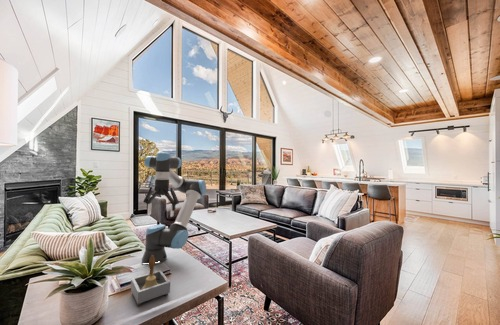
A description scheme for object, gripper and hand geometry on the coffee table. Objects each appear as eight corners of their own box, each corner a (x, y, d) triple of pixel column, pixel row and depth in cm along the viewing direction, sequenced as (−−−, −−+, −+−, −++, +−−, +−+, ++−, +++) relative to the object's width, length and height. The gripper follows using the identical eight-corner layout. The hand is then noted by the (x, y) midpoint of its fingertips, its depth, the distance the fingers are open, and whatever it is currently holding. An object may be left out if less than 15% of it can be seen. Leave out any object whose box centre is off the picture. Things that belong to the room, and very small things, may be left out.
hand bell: (140, 286, 103) (142, 253, 103) (159, 282, 107) (160, 251, 107) (140, 295, 96) (142, 260, 96) (160, 291, 100) (162, 257, 100)
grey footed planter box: (130, 292, 102) (131, 278, 102) (160, 283, 111) (160, 270, 111) (137, 308, 92) (138, 292, 92) (169, 296, 101) (170, 282, 101)
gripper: (137, 178, 119) (136, 215, 119) (180, 180, 117) (178, 218, 117) (145, 177, 126) (143, 212, 126) (185, 179, 124) (183, 215, 124)
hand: (160, 215), depth 121 cm, fingers open, 13 cm apart
